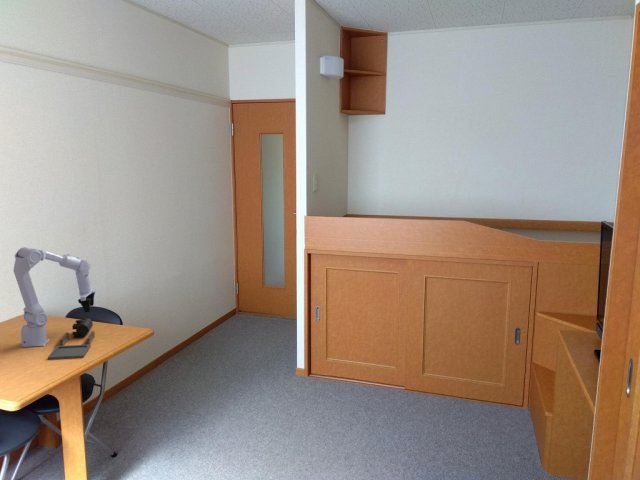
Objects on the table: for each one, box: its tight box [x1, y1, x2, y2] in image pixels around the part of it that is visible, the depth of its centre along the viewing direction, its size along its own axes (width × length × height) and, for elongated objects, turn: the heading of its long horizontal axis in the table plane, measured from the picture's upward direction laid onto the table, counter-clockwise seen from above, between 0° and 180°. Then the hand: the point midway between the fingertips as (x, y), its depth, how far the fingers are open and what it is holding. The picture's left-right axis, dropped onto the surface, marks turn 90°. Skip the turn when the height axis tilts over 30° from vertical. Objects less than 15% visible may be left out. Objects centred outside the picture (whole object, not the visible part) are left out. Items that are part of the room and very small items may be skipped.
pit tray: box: [47, 343, 92, 360], centre depth 217 cm, size 14×13×1 cm
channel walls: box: [59, 331, 96, 346], centre depth 229 cm, size 12×10×3 cm
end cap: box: [72, 317, 94, 339], centre depth 239 cm, size 10×7×7 cm
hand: (89, 308), depth 246 cm, fingers open, 7 cm apart
